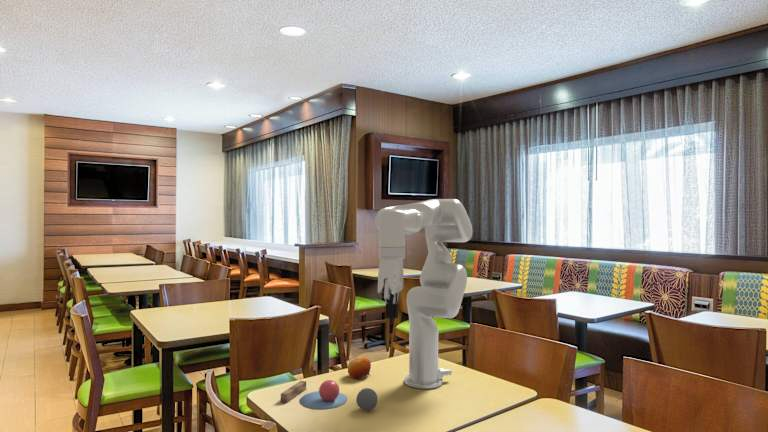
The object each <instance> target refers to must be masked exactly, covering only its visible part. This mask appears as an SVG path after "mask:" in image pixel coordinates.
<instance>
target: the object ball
mask: <svg viewBox="0 0 768 432" xmlns="http://www.w3.org/2000/svg"><path fill="white" fill-rule="evenodd" d="M318 391H319V394H320V397H321V398H322V399H323V400H325V401H328V402H329V401H333V400H335V399H336V398H337V397H338V395H339V392H340V387H339V384H338V383H337V381H334V380H332V379H327V380H325V381H323V382H322V383H321V384H320V386H319V388H318Z"/></svg>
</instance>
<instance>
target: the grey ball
mask: <svg viewBox="0 0 768 432" xmlns="http://www.w3.org/2000/svg"><path fill="white" fill-rule="evenodd" d="M377 404H378V394H377V393H376V391H375V390H374V389H372V388H368V387H366V388H362V389H361V390H359V392H358V393H357V396H356V405H357V406H358V408H359V409H360V410H361V411H364V412H365V411H366V412H369V411H372V410H373V409H375V407H377Z"/></svg>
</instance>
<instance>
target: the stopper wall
mask: <svg viewBox="0 0 768 432" xmlns="http://www.w3.org/2000/svg"><path fill="white" fill-rule="evenodd" d="M306 390H307V381H304V380H299V381H298V382H297V383H294V384H293V385H292V386H289V388H287V389H286V390H284V391H283V392H281V393H280V403H283V404H287V403H289V402H290V401H292V400H293V399H294V398H296V397H298V396H299V395H300V394H302V393H303V392H304V391H306Z"/></svg>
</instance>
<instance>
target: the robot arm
mask: <svg viewBox="0 0 768 432" xmlns="http://www.w3.org/2000/svg"><path fill="white" fill-rule="evenodd" d="M374 225H375V227H376V229H377V230H378V258H379V264H378V273H377V276H378V277H377V294H379V295H380V294H381V295H382V294H383V299H384V301H385V317H386V319H388V318H389V319H397V318H398V317H399V298H400V297H399V294H400V292H401V291H402V290H403V288H404V262H403V261H404V260H403V259H406V235H413V234H418V233H419V232H420V231H421V229H424V234H425V242H426V247H427V251H428V253H427V255H426V259H425V262H424V264H423V267H422V270H421V271H420V275H419V282H420V286H414V287H412V288H411V289H409V290H408V292H407V294H406V307H407V313H408V322H409V328H408V330H409V331H408V333H409V334H408V335H409V337H408V341H409V342H408V343H409V345H408V349H409V350H408V351H409V353H408V354H409V356H408V362H409V363H408V369H409V370H408V375H406V376H404V384H405V385H407V386H408V387H411V388H414V389H419V390H420V389H421V390H424V389H425V390H427V389H429V390H430V389H435V388H436V389H437V388H440V387H441V386H442V385H443V383H444V380H443V377H444V376H451V375H452V370H451V368H446V369H445V368H444V367H441V368H440V367H439V328H438V324H437V323H436V321H435V320H434V318H444V319H453V318H455V317H457V315H458V314H459V312H460V308H461V304H462V302H463V299H464V295H465V291H466V288H467V283H468V274H467V270H466V268H465V267H464V266H463V265H462V264H459V263H452V254H451V252H450V251H449V249H448V248H447V247H446V246H445V244H444V243H467V242H468V241H470V240H471V239H472V237H473V226H472V222H471V219H470V217H469V215H468V212H467V210H466V208H465V206H464V205H463V203H462V202H461V201H460V200H458V199H456V198H434V199H427V200H422V201H419V202H413V203H407V204H400V205H393V206H389V207H384V208H381V209H380V210H379V211H378V212H377V213H376V215H375V219H374Z"/></svg>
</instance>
